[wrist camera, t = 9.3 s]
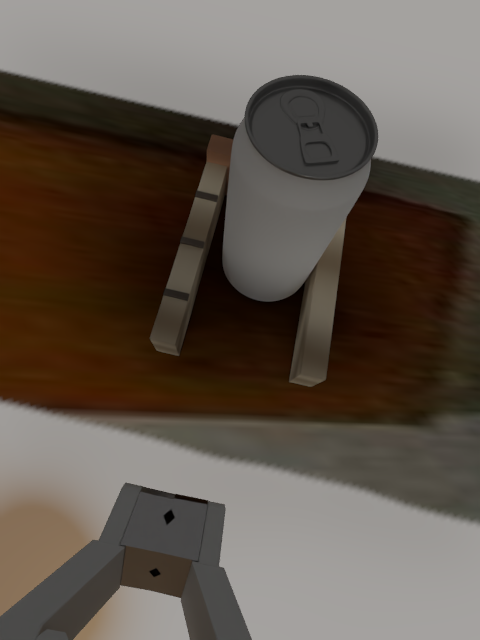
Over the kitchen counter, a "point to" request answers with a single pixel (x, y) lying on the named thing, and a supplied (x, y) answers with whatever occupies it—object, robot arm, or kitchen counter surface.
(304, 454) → the kitchen counter surface
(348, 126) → the can
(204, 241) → the wooden rack
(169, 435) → the kitchen counter surface
